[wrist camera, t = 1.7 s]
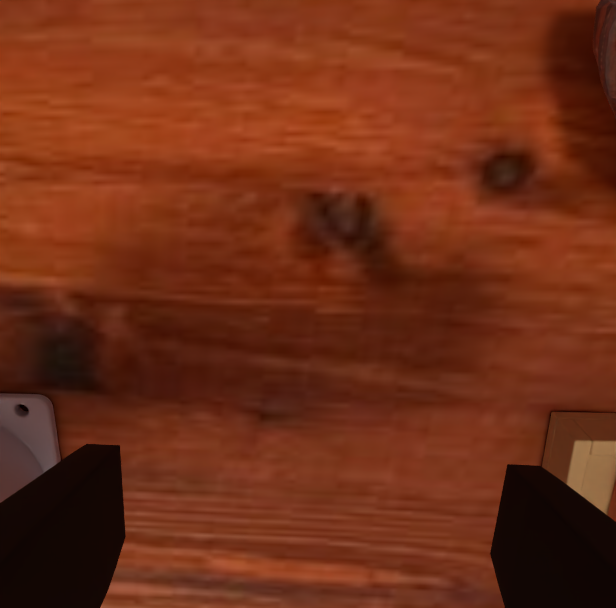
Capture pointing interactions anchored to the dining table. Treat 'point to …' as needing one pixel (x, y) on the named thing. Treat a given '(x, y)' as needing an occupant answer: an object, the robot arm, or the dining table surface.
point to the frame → (583, 454)
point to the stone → (606, 48)
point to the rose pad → (613, 505)
